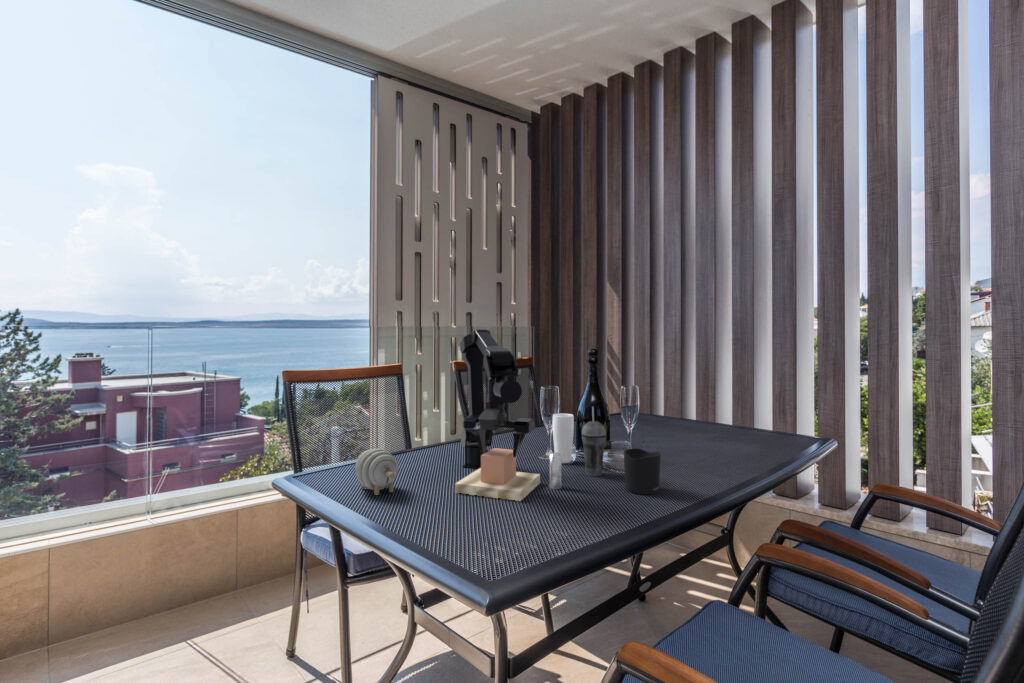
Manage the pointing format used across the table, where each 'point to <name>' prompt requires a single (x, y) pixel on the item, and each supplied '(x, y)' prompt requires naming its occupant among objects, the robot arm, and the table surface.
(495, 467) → the block
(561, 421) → the drinking glass
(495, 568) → the table surface
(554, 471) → the steel pin
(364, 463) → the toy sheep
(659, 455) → the pen holder
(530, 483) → the pin board
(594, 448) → the beverage cup
